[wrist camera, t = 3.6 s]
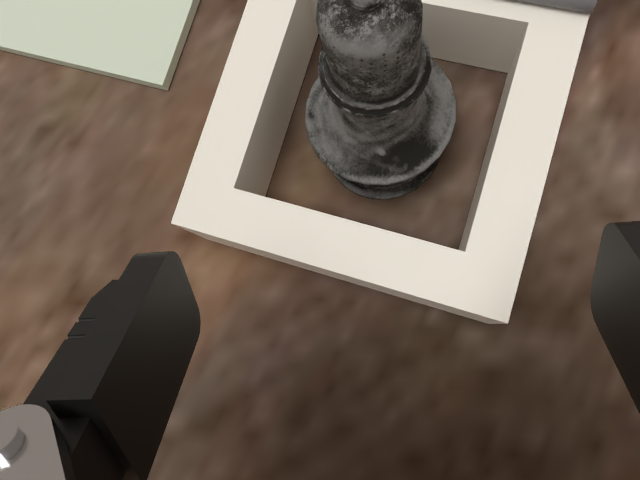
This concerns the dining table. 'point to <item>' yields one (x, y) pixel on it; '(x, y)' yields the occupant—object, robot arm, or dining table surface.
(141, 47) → the mat
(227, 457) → the dining table surface
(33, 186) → the dining table surface
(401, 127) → the grey chess piece
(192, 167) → the holder
